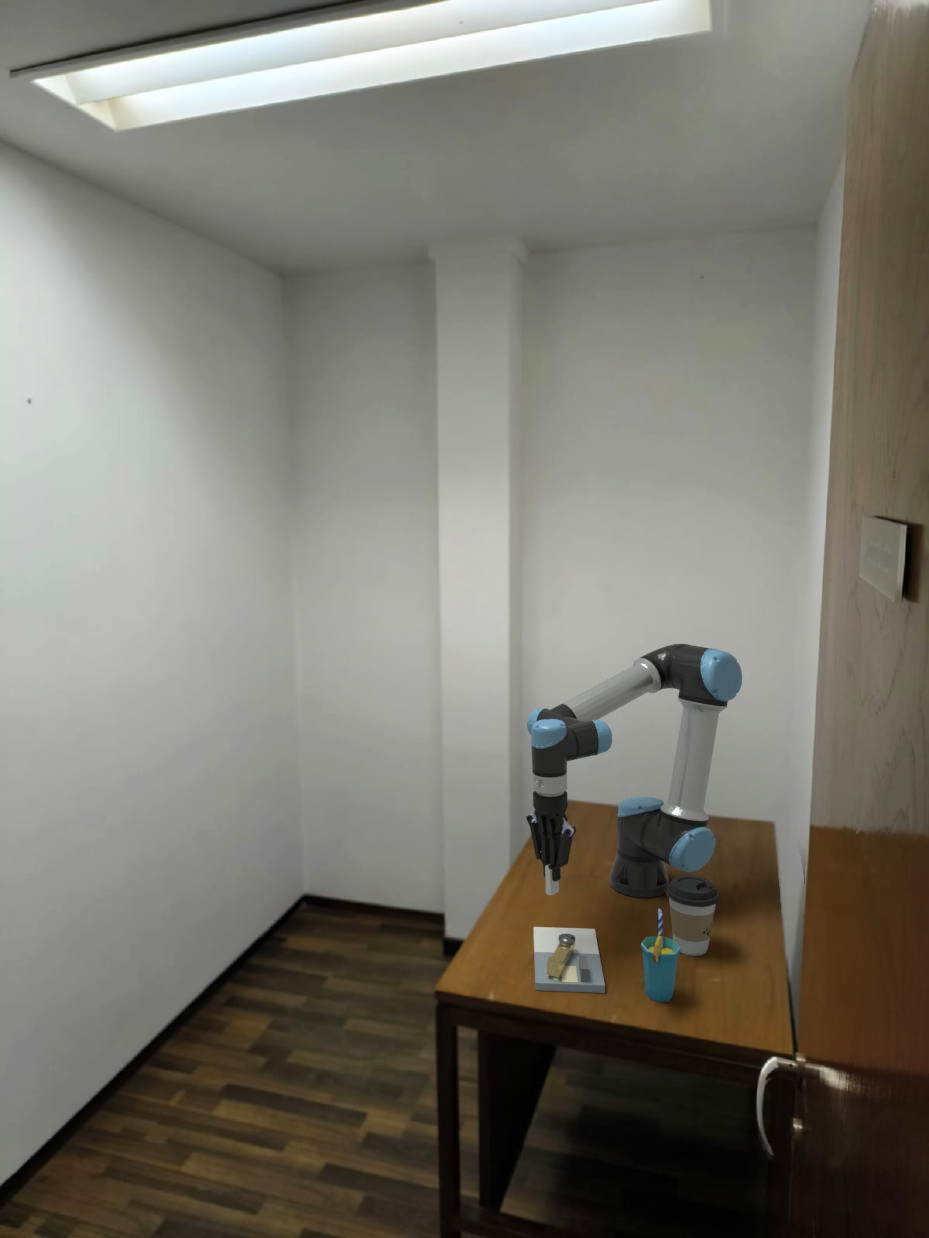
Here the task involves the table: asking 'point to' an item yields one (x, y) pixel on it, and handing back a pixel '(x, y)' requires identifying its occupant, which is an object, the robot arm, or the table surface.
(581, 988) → the door fixture
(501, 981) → the table surface
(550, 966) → the latch bar
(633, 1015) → the table surface
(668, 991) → the cup
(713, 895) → the coffee cup
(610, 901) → the table surface
